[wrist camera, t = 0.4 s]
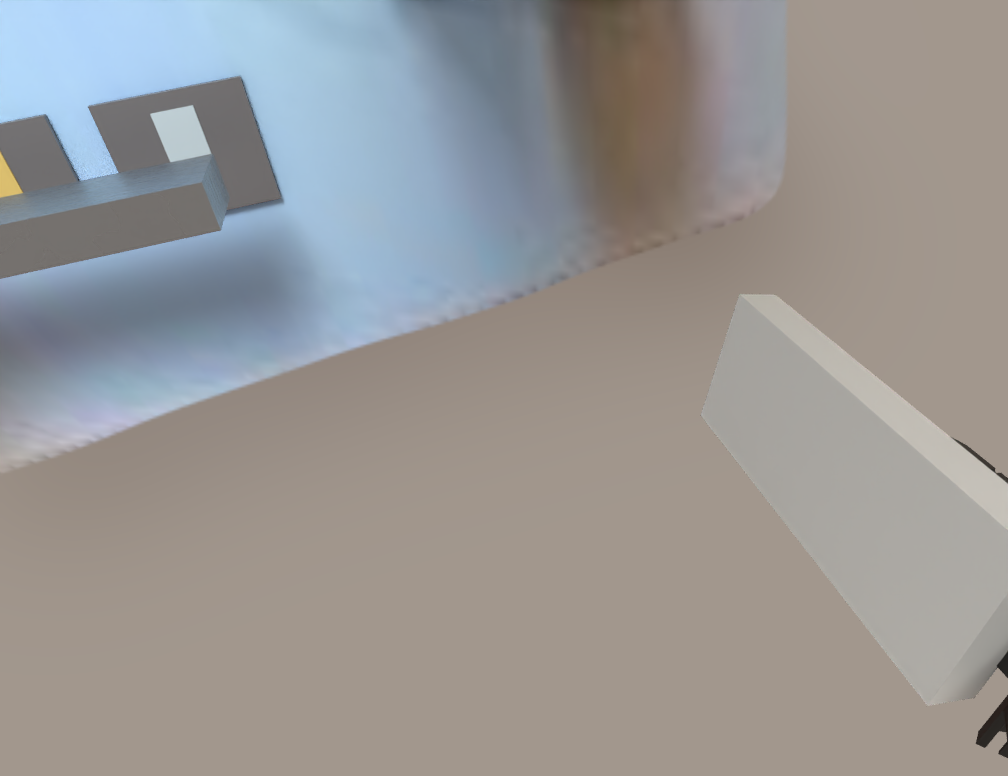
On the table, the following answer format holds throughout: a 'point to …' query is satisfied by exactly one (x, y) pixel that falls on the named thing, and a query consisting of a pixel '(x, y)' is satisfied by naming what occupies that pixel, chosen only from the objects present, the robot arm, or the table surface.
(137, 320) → the table surface
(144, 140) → the label plate dark grey
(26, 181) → the label plate ochre
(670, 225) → the table surface
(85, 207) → the rail
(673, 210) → the table surface
